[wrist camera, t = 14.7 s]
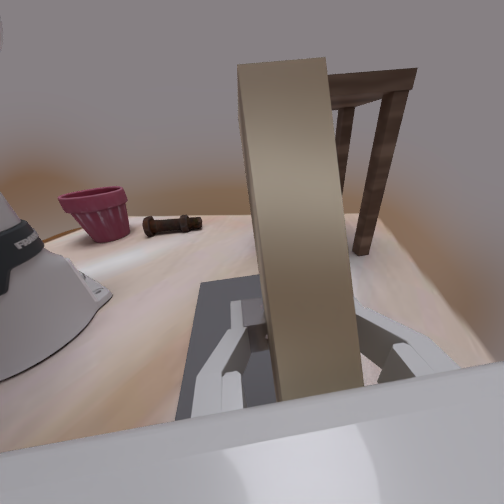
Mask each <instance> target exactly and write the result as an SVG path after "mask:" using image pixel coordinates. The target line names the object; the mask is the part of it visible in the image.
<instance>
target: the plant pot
mask: <svg viewBox="0 0 504 504" xmlns="http://www.w3.org/2000/svg"><path fill="white" fill-rule="evenodd" d="M58 200H59V202H60V204H61V206H62V208H63V210H64V211H65V212H66V213H70V214H71V215H72V216H73V217H74V218H75V220H76V221H77V222H78V223H79V224H80V225H81V226H82V228H83V229H84V230H85V231H86V232H87V233H88V234H89V235H90V236H91V238H92V239H93V240H94V241H95V242H98V243H103V242H110V241H114V240H117V239H120V238H123V237H125V236H126V235H128V234H129V233H130V228H129V221H128V215H127V209H126V204H125V203H126V202H127V197H126V194H125V192H124V190H123V188H122V187H119V186H112V187H102V188H95V189H88V190H82V191H77V192H72V193H68V194H64V195H61V196H59V197H58Z"/></svg>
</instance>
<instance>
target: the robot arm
mask: <svg viewBox="0 0 504 504" xmlns="http://www.w3.org/2000/svg"><path fill="white" fill-rule="evenodd" d="M2 44H3V28H2V22H1V17H0V51H1V49H2ZM353 296H354V295H353ZM111 297H112V293H111V292H110V290H109V289H107V288H106V287H104V286H102V285H101V284H99V283H98V282H96V281H95V280H93V279H91V278H90V277H88V276H87V275H85V274H83V273H82V272H80V271H78V270H77V269H76V267H75V266H74V264H73V263H72V262H71V260H70V259H69V258H64V257H63V256H62V255H58V254H55V253H52V252H50V251H49V250H47V249H45V248H44V243H43V242H42V240H41V239H40V238H39V236H38V234H37V232H36V231H35V230H34V229H33V228H32V227H31V226H30V225H29V224H28V222H27V221H25V220H21V219H19V217H18V216H17V214H16V213H15V212H14V211H13V209H12V208H11V206H10V205H9V203H8V202H7V201H6V199H5V198H4V196H3V195H2V194H1V192H0V381H1V380H3V379H6V378H8V377H11V376H13V375H15V374H17V373H19V372H21V371H23V370H25V369H27V368H29V367H31V366H33V365H35V364H36V363H38V362H40V361H42V360H43V359H45V358H46V357H48V356H50V355H51V354H53V353H54V352H56V351H57V350H58V349H60V348H61V347H63V346H64V345H65V344H66V343H68V342H69V341H70V340H71V339H73V338H74V337H75V336H76V335H77V334H78V333H79V332H80V331H81V330H82V329H83V328H84V327H85V326H86V325H87V324H88V323H89V321H90V320H91V319H92V317H93V316H94V314H95V313H96V311H97V310H98V309H99V308H100V307H101V306H102V305H103V304H104V303H106V302H107V301H108V300H109V299H110V298H111ZM354 305H355V313H356V322H357V330H358V339H359V347H360V352H361V353H362V354H363V355H365V356H366V357H367V358H368V359H370V360H371V361H372V362H374V363H375V364H376V365H377V366H379V367H380V368H381V369H382V371H381V373H380V375H379V378H378V381H377V382H378V384H374V385H369V386H363V387H358V388H352V389H347V390H341V391H336V392H330V393H325V394H319V395H314V396H308V397H303V398H298V399H292V400H287V401H281V402H276V403H270V404H265V405H259V406H254V407H247V402H246V397H245V392H244V387H243V382H242V376H243V373H244V371H245V368H246V366H247V363H248V361H249V359H250V356H251V353H254V352H259V351H265V350H269V343H268V336H267V334H268V331H267V321H266V317H265V312H264V310H263V303H262V299H261V297H260V298H252V299H244V300H238V301H231V303H230V309H231V329H228V330H227V332H226V333H225V335H224V336H223V338H222V339H221V341H220V342H219V344H218V345H217V347H216V348H215V350H214V351H213V353H212V354H211V356H210V357H209V359H208V360H207V362H206V363H205V365H204V366H203V368H202V369H201V371H200V372H199V374H198V375H197V377H196V384H195V391H194V399H193V406H192V413H191V418H188V419H183V420H177V421H172V422H166V423H161V424H156V425H150V426H145V427H139V428H134V429H128V430H123V431H117V432H112V433H106V434H101V435H95V436H90V437H85V438H79V439H74V440H68V441H63V442H57V443H52V444H46V445H41V446H35V447H30V448H24V449H19V450H13V451H8V452H2V453H0V504H504V361H500V362H495V363H489V364H484V365H478V366H473V367H467V368H461V367H459V366H458V365H457V364H456V363H455V362H454V361H453V360H452V359H451V358H450V357H449V356H448V355H447V354H446V353H445V352H444V351H443V350H442V349H441V348H439V347H438V346H437V345H436V344H435V343H434V342H433V341H432V340H431V339H430V338H429V337H427V336H425V335H423V334H421V333H419V332H417V331H415V330H413V329H411V328H408V327H406V326H404V325H402V324H400V323H398V322H396V321H394V320H392V319H390V318H388V317H386V316H384V315H382V314H380V313H378V312H375V311H373V310H371V309H369V308H364V307H363V306H362V305H361V304H360V302H359V301H358V300H357V299H356V298H355V297H354Z"/></svg>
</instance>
